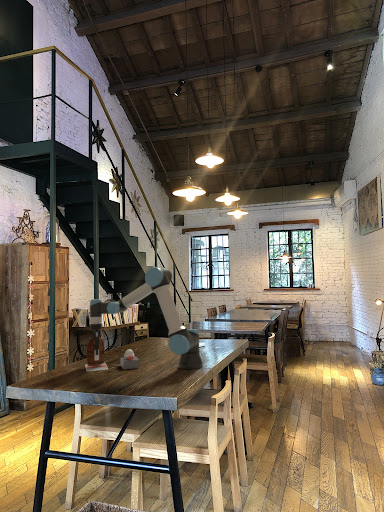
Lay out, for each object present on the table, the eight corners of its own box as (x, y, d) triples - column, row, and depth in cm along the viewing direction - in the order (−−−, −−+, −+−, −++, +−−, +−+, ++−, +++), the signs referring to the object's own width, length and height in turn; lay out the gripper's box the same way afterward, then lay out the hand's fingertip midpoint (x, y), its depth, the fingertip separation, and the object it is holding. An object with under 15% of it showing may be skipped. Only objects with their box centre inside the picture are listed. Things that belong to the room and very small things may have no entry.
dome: (135, 358, 239) (135, 349, 239) (124, 359, 237) (124, 350, 237) (133, 356, 245) (133, 348, 245) (123, 357, 243) (123, 349, 243)
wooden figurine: (92, 366, 234) (92, 337, 236) (85, 365, 238) (85, 337, 239) (106, 363, 244) (106, 335, 246) (99, 362, 248) (99, 334, 249)
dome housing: (139, 367, 235) (139, 355, 236) (123, 369, 232) (123, 357, 232) (136, 364, 246) (135, 352, 247) (120, 365, 243) (120, 354, 244)
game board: (108, 369, 233) (108, 368, 233) (86, 371, 229) (86, 371, 229) (105, 362, 254) (105, 362, 254) (85, 364, 250) (85, 364, 250)
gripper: (89, 322, 253) (89, 356, 251) (90, 325, 232) (91, 362, 230) (100, 321, 255) (100, 355, 253) (103, 324, 235) (103, 361, 233)
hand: (96, 358), depth 242 cm, fingers closed on wooden figurine, 9 cm apart
